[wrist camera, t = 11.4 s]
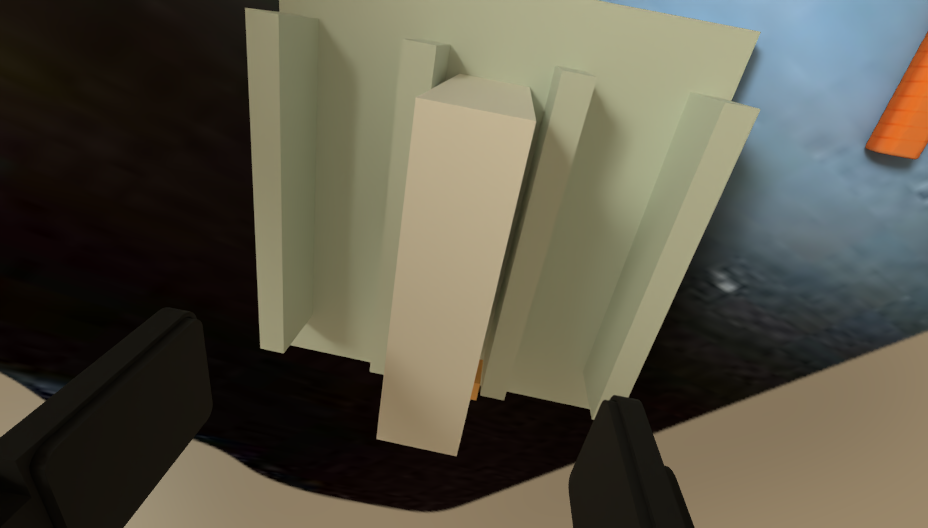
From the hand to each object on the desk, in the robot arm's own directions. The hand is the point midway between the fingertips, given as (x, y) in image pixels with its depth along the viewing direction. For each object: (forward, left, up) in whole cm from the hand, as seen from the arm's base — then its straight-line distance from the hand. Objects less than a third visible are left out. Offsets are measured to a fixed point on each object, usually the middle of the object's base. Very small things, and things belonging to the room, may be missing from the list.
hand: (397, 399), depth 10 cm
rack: (0, +1, -14) cm, 14 cm away
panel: (0, 0, -13) cm, 13 cm away
